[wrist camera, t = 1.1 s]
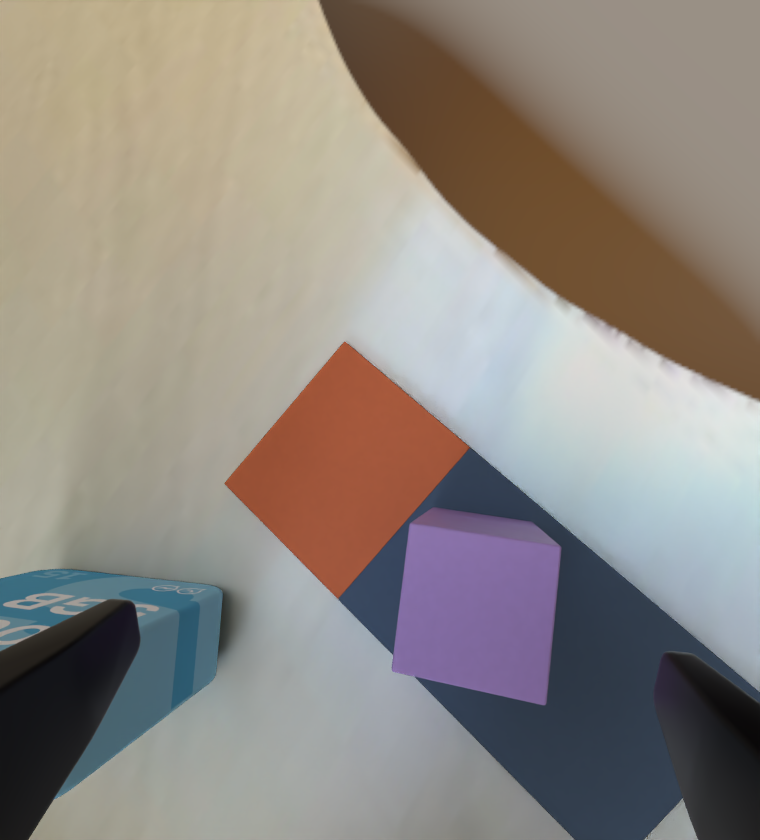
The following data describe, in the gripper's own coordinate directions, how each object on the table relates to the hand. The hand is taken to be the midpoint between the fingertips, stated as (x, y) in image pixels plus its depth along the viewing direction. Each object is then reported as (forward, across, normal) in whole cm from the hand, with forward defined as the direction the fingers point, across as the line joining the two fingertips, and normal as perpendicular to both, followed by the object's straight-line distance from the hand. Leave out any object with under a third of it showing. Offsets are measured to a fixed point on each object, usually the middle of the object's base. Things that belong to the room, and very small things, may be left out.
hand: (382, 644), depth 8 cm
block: (+15, -3, +8) cm, 17 cm away
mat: (+15, -2, +9) cm, 17 cm away
